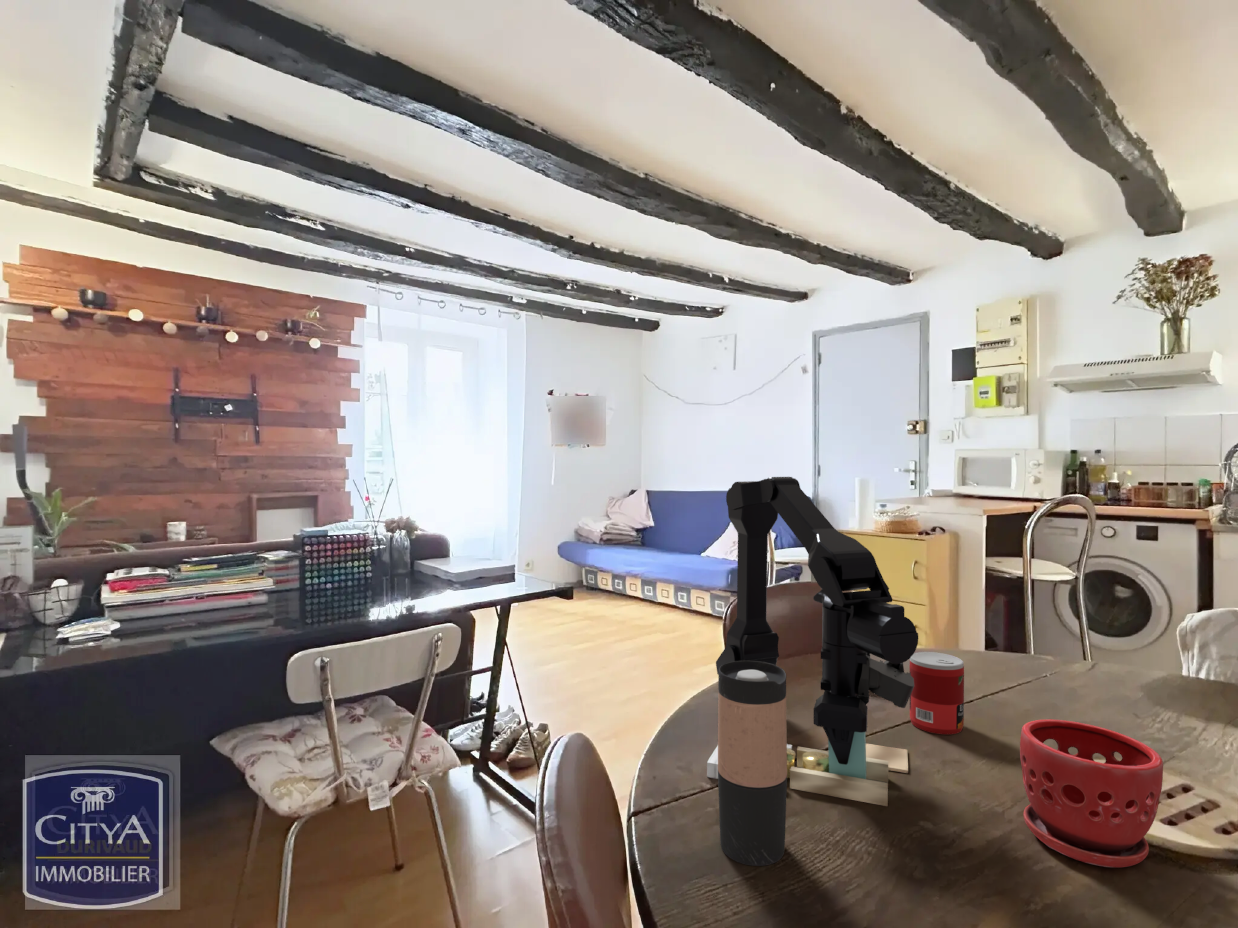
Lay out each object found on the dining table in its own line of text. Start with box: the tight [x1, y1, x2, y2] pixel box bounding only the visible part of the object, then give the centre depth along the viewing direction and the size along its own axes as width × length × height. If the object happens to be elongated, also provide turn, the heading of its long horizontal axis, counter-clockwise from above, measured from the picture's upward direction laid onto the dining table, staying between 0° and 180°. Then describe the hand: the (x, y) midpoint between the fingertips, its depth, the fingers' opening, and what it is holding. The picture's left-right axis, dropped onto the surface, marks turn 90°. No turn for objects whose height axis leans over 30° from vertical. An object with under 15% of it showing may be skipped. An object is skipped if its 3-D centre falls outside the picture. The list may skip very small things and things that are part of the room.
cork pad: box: [866, 743, 909, 774], centre depth 97 cm, size 7×7×1 cm
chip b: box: [803, 751, 829, 773], centre depth 91 cm, size 4×4×3 cm
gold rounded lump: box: [787, 748, 797, 779], centre depth 92 cm, size 4×4×3 cm
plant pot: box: [1019, 718, 1164, 868], centre depth 75 cm, size 13×13×12 cm
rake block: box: [827, 732, 867, 779], centre depth 89 cm, size 4×4×9 cm
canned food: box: [908, 651, 965, 736], centre depth 108 cm, size 8×8×11 cm
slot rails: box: [789, 746, 889, 807], centre depth 89 cm, size 12×8×2 cm, turn 67°
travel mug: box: [717, 661, 788, 867], centre depth 75 cm, size 8×8×20 cm
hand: (844, 756), depth 89 cm, fingers closed on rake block, 4 cm apart
